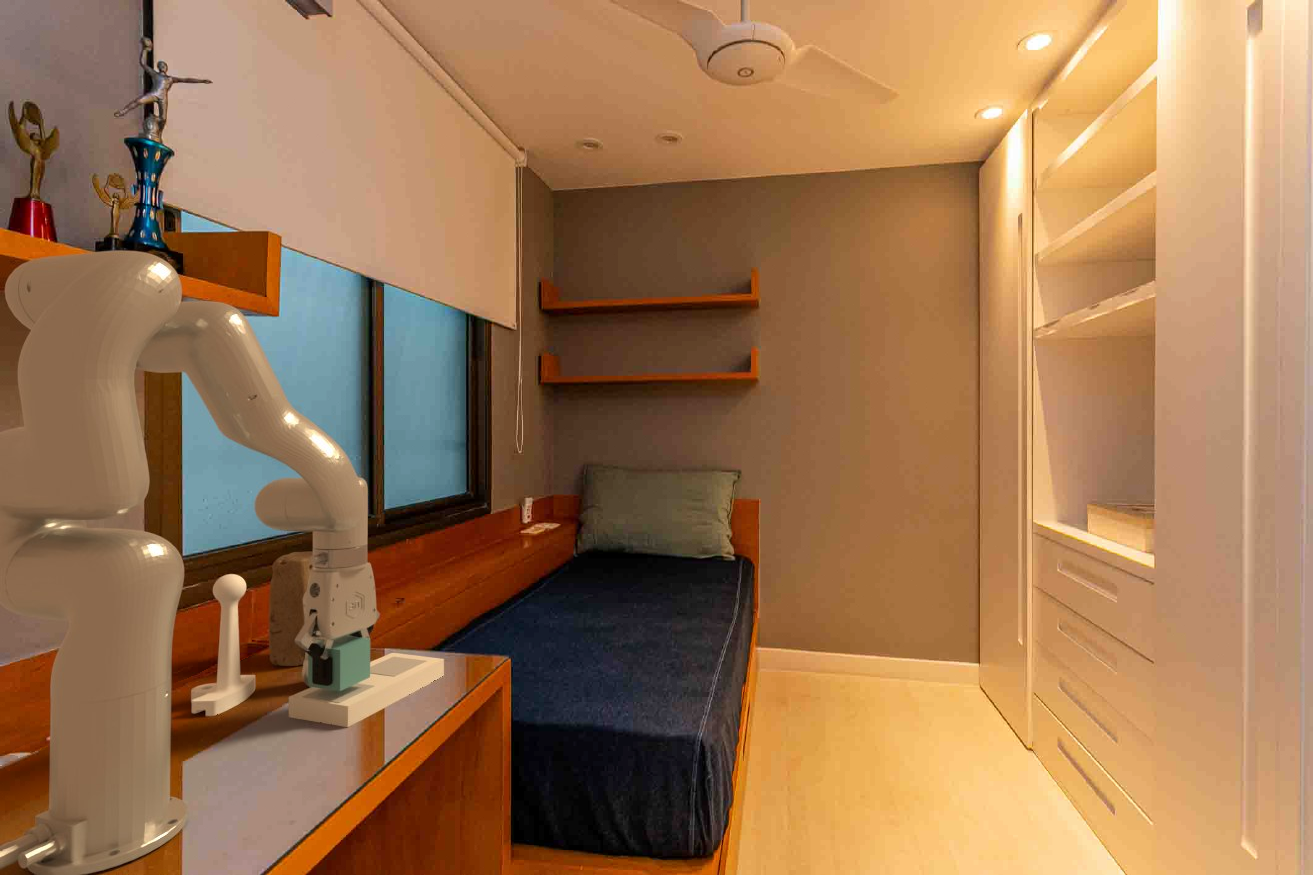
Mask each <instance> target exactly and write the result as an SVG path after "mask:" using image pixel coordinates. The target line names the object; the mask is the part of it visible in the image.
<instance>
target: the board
mask: <svg viewBox="0 0 1313 875" xmlns="http://www.w3.org/2000/svg"><path fill="white" fill-rule="evenodd" d="M442 676H443V677H444V676H445V658H439V657H430V656H424V655H415V654H414V655H413V654H406V653H398V652H391V653H388V654H386V655H383V656H382V657H379V658H377V659H374V660H371V661H370V677H369V678H367V679H365V680H363V681H361V682H359V683H357V684H354V685H352V686H350V687H348V688H346V689H344V690H342V691H336V690H329V689H322V688H316V687H309V688H306V689H304V690H302V691H298V692H296V693H295V694H292V695H290V696H288V718H291V719H297V720H303V721H309V722H314V723H320V722H322V723H321V724H327V725H331V724H332V726H338V727H343V728H350V727H352V726H353V725H356V724H358V723H359V722H361V721H363V720H364V719H366V718H368V717H370V716H372V715H374V714H376V713H378V712H379V711H381V710H383V709H385V708H387V707H389V706H390V705H392V704H394V703H396V702H399V701H400V700H403V699H404V698H406V697H407V696H410V695H411V694H413V693H415V692H417V691H419V690H420V688H421V689H423V688H424V687H426V686H429V685H431V684H432V683H434V682H435V681H434V680H436V681H437V679H438V680H439V678H440V677H441V678H443V677H442ZM441 678H440V679H441ZM433 681H434V682H433ZM431 682H432V683H431ZM422 687H423V688H422ZM409 694H410V695H409Z"/></svg>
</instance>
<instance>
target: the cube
mask: <svg viewBox="0 0 1313 875" xmlns="http://www.w3.org/2000/svg"><path fill="white" fill-rule="evenodd" d="M323 644H324V641H321V643H320V647H321V648H322V647H323ZM329 657H331V658H332V684H331V685H329V686H325V685H318V684H313V682H312V658H310V657H309V656H308V686H307V687H309V688H311V687H316V688H322V689H329V690H336V691H342V690H344V689H346V688H348V687H350V686H352V685H354V684H357V683H359V682H361V681H363V680H365V679H367V678H369V677H370V662H371V637H370V638H363V637H354V636H349V635H346V636H344V637H341V638H338V639H334V640H333V644H332V647H331V651H330V654H329Z"/></svg>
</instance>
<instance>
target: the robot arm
mask: <svg viewBox="0 0 1313 875" xmlns="http://www.w3.org/2000/svg"><path fill="white" fill-rule="evenodd" d="M182 293H183V288H182V282H181V279H180V276H179V274H178V272H177V270H176V269H175V268H174V267H173V266H172V265H171V264H170V263H169V262H168V261H166V260H165V259H163V258H161V257H160V256H157V255H155V254H152V253H150V252H149V253H148V252H146V251H145V252H144V251H137V250H104V251H93V252H85V253H78V254H67V255H66V254H65V255H56V256H54V255H53V256H44V257H39V258H34V259H31V260H29V261H25V262H24V263H21V264H20V265H19V266H18V267H16V268H15V269H14V270H13V271H12V272H11V273H10V275H9V276H8V277H7V280H6V282H5V286H4V295H5V300H6V303H7V306H8V308H9V309H10V311H11V312H12V314H13V316H14V317H15V318H16V319H17V320H18V321H19V322H20V323H21V324H22V325H23V326H24V327H26V328H27V329H29V330H30V331H29V333H28V335H27V336H26V339H25V341H24V343H23V345H22V348H21V351H20V355H19V358H18V363H17V364H18V365H17V386H18V390H19V398H20V404H21V412H22V420H23V426H18V427H13V428H9V429H6V430H3V431H0V605H1V606H2V607H3V608H4V609H6V610H7V611H9V612H11V613H13V614H15V615H19V616H23V617H26V618H30V619H31V618H32V619H40V620H50V621H60V622H61V621H62V622H69V626H68V629H67V631H66V635H65V637H64V638H63V640H62V642H61V644H60V646H59V648H58V650H57V653H56V654H55V659H54V660H53V665H52V668H51V675H50V691H49V692H50V695H49V696H50V697H49V698H50V718H49V719H50V723H49V724H50V728H49V731H50V732H49V738H50V739H49V784H48V785H49V788H48V789H49V793H48V794H49V795H48V797H49V798H48V802H49V803H48V805H49V806H48V810H45V811H42V812H41V813H38V814H36V815H35V822H34V824H35V825H34V827H31V828H28V829H27V830H26V831H25V832H24V835H23V836H20V837H19V838H17V839H15V840H14V839H13V840H10V841H8V842H6V843H5V842H4V843H3V844H1V845H0V870H2V869H3V868H5V867H8V866H10V865H12V864H14V863H16V862H18V866H19V867H20V868H22V869H27V871H29V872H30V873H32V874H34V875H89V874H93V873H97V872H101V871H105V870H106V871H107V870H109V869H112V868H115V867H119V866H122V865H123V864H125V863H128V862H131V861H134V860H136V859H138V858H140V857H143V856H145V855H148V854H149V853H150V852H153V851H154V850H156V849H157V848H159V847H161V846H163V845H164V844H166V843H167V842H168V841H170V840H171V839H173V837H175V836H176V835H177V834H178V833H179V832H180V831H181V830H182V829H183V828H184V826H185V825H186V823H187V822H188V821H187V820H188V814H189V813H188V810H189V809H188V806H187V803H186V802H185V801H184V800H183V799H180V798H178V797H175V796H171V747H172V746H171V745H172V744H171V743H172V741H171V740H172V737H171V736H172V734H171V732H172V730H171V728H172V725H171V724H172V721H171V720H172V651H173V639H174V637H173V636H174V628H175V622H176V616H177V612H178V607H179V602H180V598H181V595H182V592H183V588H184V587H183V586H184V580H185V564H184V561H183V558H182V555H181V553H180V552H179V550H178V549H177V547H175V546H174V545H173V544H172V543H171V542H170V541H169V540H167V539H166V538H164V537H162V536H160V535H157V534H155V533H151V532H148V531H145V530H140V529H131V528H130V529H129V528H116V527H115V528H112V527H110V528H109V527H88V525H87V521H99V520H101V521H102V520H108V519H110V520H111V519H115V518H118V517H123V516H124V515H127V514H130V513H131V512H133V511H134V510H135V509H137V508H139V506H141V505H142V504H143V502H144V501H145V499H146V498H147V495H148V493H149V487H150V471H149V470H150V469H149V465H148V458H147V453H146V449H145V448H146V447H145V442H144V436H143V433H142V427H141V422H140V421H141V420H140V415H139V411H138V404H137V398H136V388H135V373H136V372H135V371H136V369H137V370H141V371H144V372H152V373H159V374H163V373H165V374H168V373H185V375H186V376H188V378H189V380H190V382H191V384H192V386H194V388H195V390H196V393H198V396H199V398H201V400H202V402H203V404H204V405H205V408H206V410H208V412H209V415H210V416H211V418H212V419H213V421H214V424H215V425H216V427H217V429H218V430H219V431H220V432H221V434H222V435H223V436H225V437H226V438H227V439H228V440H231V441H233V442H235V443H236V444H239V445H240V446H243V447H245V448H248V449H250V450H252V451H255V452H256V453H260V454H261V455H262V454H263V455H264V456H267V457H270V458H272V459H274V460H277V461H279V462H280V463H282V464H284V465H286V466H287V467H289V468H290V469H291V470H293V472H295V473H297V474H298V475H299V476H300V477H285V478H279V479H276V480H273V481H271V482H269V483H267V484H266V485H264V486H263V487H262V488H261V489H260V490H259V492H258V494H257V495H256V496H255V497H256V498H255V501H254V510H255V511H254V512H255V515H256V516H257V518H258V520H259V521H260V522H261V523H262V524H263V525H265V526H266V527H268V528H270V529H272V530H276V531H277V530H278V531H283V532H301V533H303V532H305V533H306V532H312V551H313V556H311V557H310V559H309V561H310V563H311V564H312V565H313V570H311V571H310V576H309V580H308V586H307V593H306V602H305V624H304V626H303V627H302V629H301V630H300V632H299V634H298V635H297V637H296V638H295V643H296V644H297V645H299V646H300V647H301V648H303V650H304V651H305V652H306V653H307V654H308V656H309V657H310V658H312V682H313V684H318V685H325V686H329V685H331V684H332V658H331V657H329V654H330V651H331V647H332V644H333V640H334V639H338V638H341V637H344V636H354V637H363V638H370V639H371V636H370V634H372V631H373V630H374V625H375V624H376V623H377V620H378V619H379V618H380V616H381V615H380V612H379V611H378V609H377V594H376V584H375V583H376V582H375V577H374V571H373V568H372V564H371V563H370V562H369V561H368V537H369V536H368V534H369V533H368V531H369V530H368V522H369V521H368V520H369V519H368V516H369V515H368V514H369V509H368V508H369V507H368V506H369V505H368V503H369V501H368V500H369V499H368V496H369V493H368V492H369V491H368V490H369V489H368V483H367V481H366V480H365V479H364V478H363V477H360V476H358V475H357V473H356V471H355V468H354V466H353V464H352V462H351V460H350V458H349V457H348V454H346V452H345V451H344V450H343V448H342V447H341V446H340V445H339V443H337V442H336V441H335V440H334V438H332V437H331V436H329V435H328V434H327V433H326V432H325V431H324V430H322V429H321V428H320V427H319V426H318V425H317V424H316V423H314V422H313V421H311V419H309V418H307V417H306V416H305V415H304V414H302V413H300V412H299V411H298V410H296V409H295V408H294V406H292V404H291V403H290V402H289V399H288V398H287V396H286V395H285V392H284V390H283V388H282V386H281V384H280V382H279V379H278V378H277V376H276V374H275V372H274V370H273V368H272V366H271V364H270V362H269V360H268V358H267V356H266V354H265V352H264V350H263V348H262V345H261V344H260V342H259V340H258V337H257V336H256V334H255V332H254V330H253V328H252V326H251V324H250V322H249V321H248V319H247V317H246V316H245V315H244V314H243V313H242V312H241V311H240V310H239V309H238V308H236V307H235V306H233V305H230V304H228V303H225V302H221V301H212V300H211V301H210V300H192V301H191V300H190V301H189V300H188V301H182V297H183V294H182ZM311 637H313V639H312V640H311ZM321 640H324V644H323V647H322V648H321V647H320V643H321Z"/></svg>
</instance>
